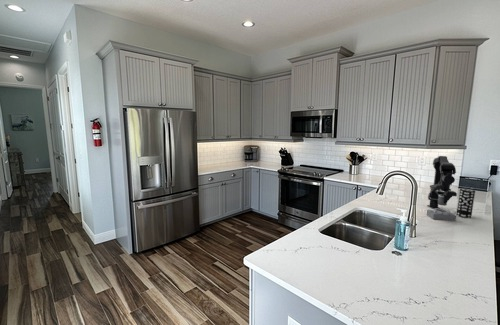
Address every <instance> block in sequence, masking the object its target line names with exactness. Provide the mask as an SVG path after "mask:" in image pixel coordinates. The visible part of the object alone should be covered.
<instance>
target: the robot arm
mask: <svg viewBox="0 0 500 325" xmlns="http://www.w3.org/2000/svg"><path fill="white" fill-rule="evenodd" d="M432 165H433V168H434V178H433V184H430V185H429V189H430V191H429V193H428V195H427V200H428V201H429V204H427V207H429V208H430V209H436V208H438V209H441V207H439V204H438V198H439V194H442V195H443V196H444V204H446V203H447V204H448V202H449V201H450V199H452V197H458V196H457V195H458V192H456V191H453V190H452V189H451V186H452V185H453V184H454V183H455V180H456V179H455V176H453V175H456V173H457V171H456V166H455V164H454V163H453V162H450V161H449V159H448V156H446V155H439V156H437V157H435V158H434V159H433V161H432Z"/></svg>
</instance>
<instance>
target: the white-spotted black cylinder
mask: <svg viewBox="0 0 500 325" xmlns="http://www.w3.org/2000/svg"><path fill="white" fill-rule="evenodd" d="M475 195H476V190H474V189H469V188H459V194H458V201H457V208H456V214H455V215H456V217H458V218H462V219H463V218H464V219H471V218H472V215H473V211H474V210H473V209H474V203H475V202H474V201H475V198H476V197H475Z"/></svg>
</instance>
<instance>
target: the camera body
mask: <svg viewBox="0 0 500 325" xmlns="http://www.w3.org/2000/svg"><path fill="white" fill-rule="evenodd" d="M426 216H427V217H429V218H431V219H432V220H435V221H436V220H438V221H448V222H449V221H451V222H456V221H457V215H456V214H455V213H453V212H451V211H449V210H447V209H444V208H440V209H438V208H432V209H426Z"/></svg>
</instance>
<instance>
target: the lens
mask: <svg viewBox="0 0 500 325" xmlns="http://www.w3.org/2000/svg"><path fill="white" fill-rule="evenodd" d="M447 204H448V202H447V203H446V204H444V196H443V195H442V194H439V198H438V206H444V207H445V206H447Z"/></svg>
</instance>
